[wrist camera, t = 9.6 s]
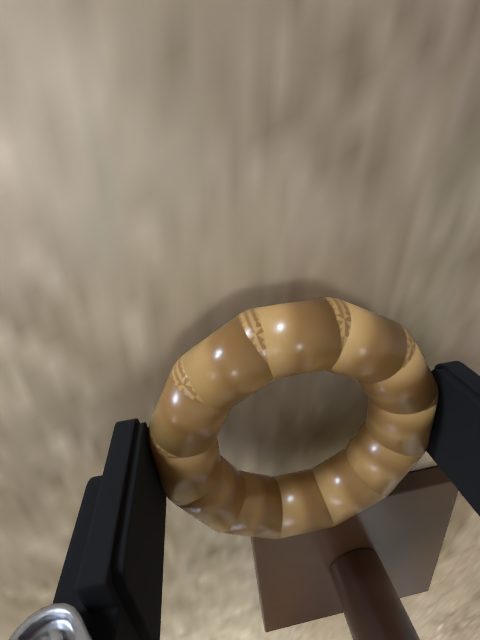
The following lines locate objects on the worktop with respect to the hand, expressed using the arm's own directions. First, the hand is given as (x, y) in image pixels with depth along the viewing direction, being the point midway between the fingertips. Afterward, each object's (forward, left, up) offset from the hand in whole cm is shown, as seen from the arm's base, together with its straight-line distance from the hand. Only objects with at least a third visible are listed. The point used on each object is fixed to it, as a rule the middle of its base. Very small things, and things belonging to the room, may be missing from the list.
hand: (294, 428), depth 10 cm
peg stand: (+3, -10, -2) cm, 11 cm away
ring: (0, 0, 0) cm, 0 cm away
